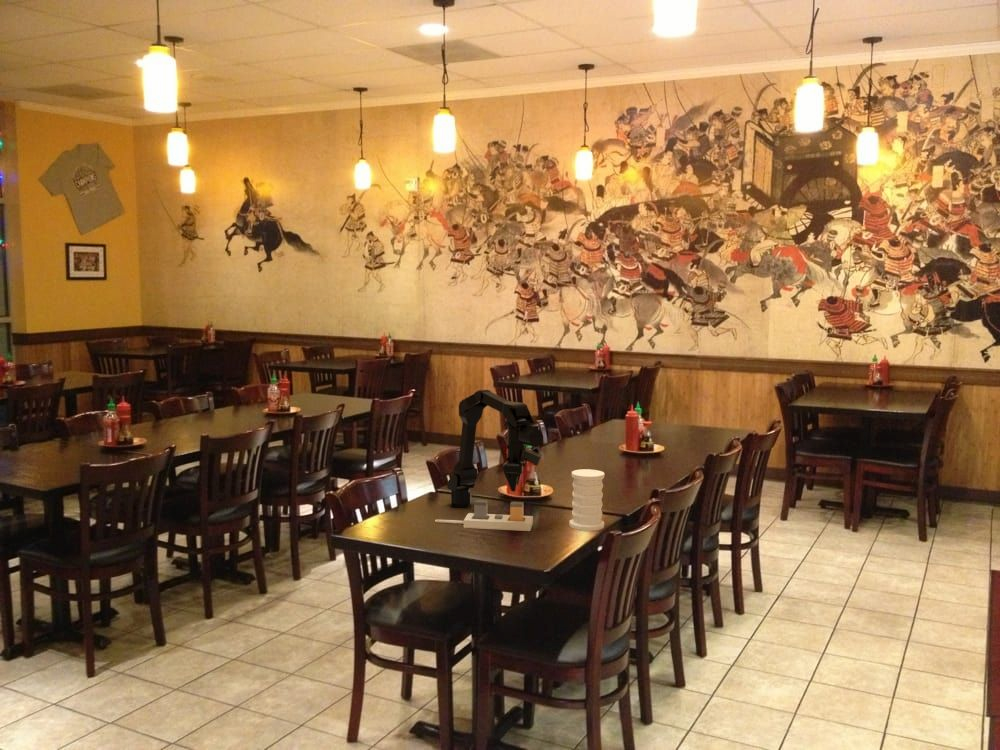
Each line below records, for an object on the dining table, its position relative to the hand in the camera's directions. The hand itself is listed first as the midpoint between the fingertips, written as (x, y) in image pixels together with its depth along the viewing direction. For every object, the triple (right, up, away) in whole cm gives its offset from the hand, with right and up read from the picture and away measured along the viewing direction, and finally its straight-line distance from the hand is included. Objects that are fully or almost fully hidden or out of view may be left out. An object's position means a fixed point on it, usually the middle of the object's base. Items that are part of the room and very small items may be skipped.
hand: (515, 487), depth 292 cm
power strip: (-11, -12, +1) cm, 16 cm away
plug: (+1, -13, 0) cm, 13 cm away
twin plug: (-11, -12, +1) cm, 17 cm away
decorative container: (+24, -13, +2) cm, 27 cm away
